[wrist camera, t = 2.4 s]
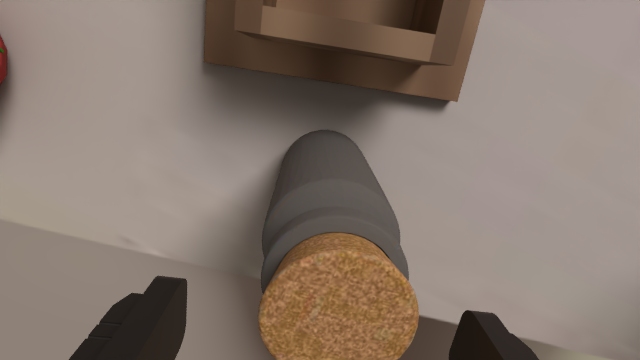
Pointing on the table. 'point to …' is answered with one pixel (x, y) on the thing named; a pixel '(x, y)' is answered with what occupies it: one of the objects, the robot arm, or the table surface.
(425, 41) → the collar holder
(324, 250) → the bottle
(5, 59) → the tomato
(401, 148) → the table surface
